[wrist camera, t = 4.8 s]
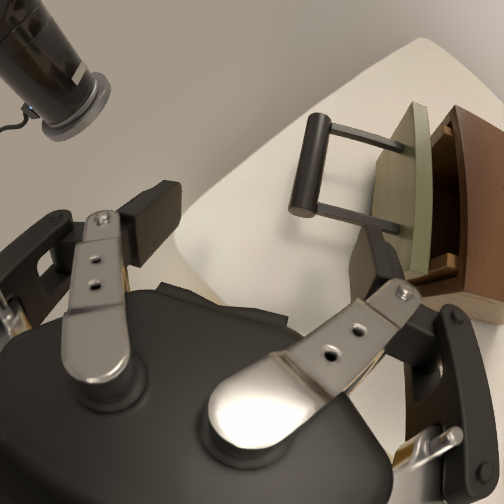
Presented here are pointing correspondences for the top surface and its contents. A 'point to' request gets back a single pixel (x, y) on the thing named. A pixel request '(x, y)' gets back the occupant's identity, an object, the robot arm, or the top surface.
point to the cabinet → (476, 222)
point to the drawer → (395, 191)
